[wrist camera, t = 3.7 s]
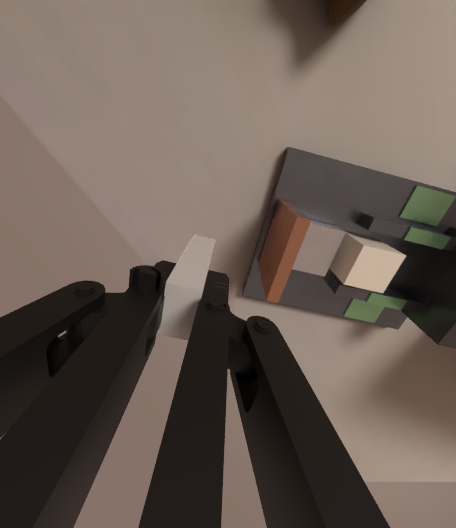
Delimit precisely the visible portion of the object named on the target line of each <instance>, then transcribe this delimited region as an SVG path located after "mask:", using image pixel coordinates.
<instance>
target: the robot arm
mask: <svg viewBox="0 0 456 528" xmlns="http://www.w3.org/2000/svg"><path fill="white" fill-rule="evenodd" d="M215 241H216V239H212V238H207V237H203V236H199V235H195V234H194V235H193V236H192V238H191V240H190V241H189V243H188V245H187V247H186V248H185V250H184V252H183V254H182V255H181V257H180V259H179V260H178V262H177V263H172V262H168V261H160V262H158V263H156V264H155V266H154V267H153V266H147V265H144V266H136V267H133V268H132V269H130V279H129V288H128V289H127V290H126V292H124V293H105V287H104V285H102V284H100V283H99V282H95V281H79V282H75V283H72V284H69V285H68V286H66V287H63V288H61V289H59V290H57V291H55V292H53V293H51V294H48V295H46V296H44V297H42V298H40V299H38V300H36V301H34V302H32V303H30V304H28V305H25V306H23V307H21V308H19V309H17V310H15V311H13V312H11V313H9V314H7V315H5V316H3V317H1V318H0V437H2V436H3V435H4V434H5V433H6V434H5V435H4V436H3V437H2V438H1V439H0V528H73V527H74V525H75V523H76V520H77V518H78V516H79V514H80V511H81V509H82V507H83V505H84V502H85V500H86V498H87V495H88V493H89V491H90V489H91V486H92V484H93V482H94V480H95V477H96V475H97V473H98V471H99V468H100V466H101V464H102V462H103V459H104V457H105V455H106V452H107V450H108V448H109V446H110V443H111V441H112V439H113V437H114V434H115V432H116V430H117V428H118V425H119V423H120V421H121V418H122V416H123V414H124V411H125V409H126V407H127V405H128V403H129V400H130V398H131V396H132V393H133V391H134V389H135V387H136V384H137V382H138V380H139V378H140V376H141V373H142V371H143V369H144V366H145V364H146V362H147V360H148V357H149V355H150V353H151V351H152V348H153V346H154V344H155V338H156V333H157V331H158V329H159V334H160V335H165V336H169V337H174V338H179V339H184V340H189V341H188V345H187V348H186V352H185V356H184V359H183V363H182V367H181V371H180V374H179V378H178V382H177V386H176V390H175V393H174V397H173V400H172V404H171V408H170V412H169V415H168V419H167V423H166V427H165V430H164V434H163V438H162V442H161V446H160V449H159V453H158V457H157V460H156V464H155V468H154V472H153V475H152V479H151V483H150V487H149V490H148V494H147V498H146V501H145V505H144V509H143V513H142V516H141V520H140V524H139V528H221V513H222V489H223V488H222V487H223V465H224V441H225V440H224V439H225V417H226V392H227V369H230V375H231V379H232V383H233V387H234V392H235V396H236V400H237V404H238V408H239V413H240V417H241V421H242V425H243V429H244V433H245V438H246V442H247V446H248V450H249V454H250V458H251V463H252V466H253V471H254V475H255V479H256V484H257V488H258V492H259V496H260V500H261V504H262V509H263V513H264V517H265V521H266V525H267V528H390V527H389V525H388V523H387V521H386V520H385V518H384V516H383V515H382V512H381V511H380V509H379V507H378V505H377V504H376V502H375V500H374V498H373V496H372V495H371V493H370V491H369V490H368V488H367V486H366V484H365V482H364V480H363V479H362V477H361V475H360V473H359V472H358V470H357V468H356V466H355V464H354V463H353V461H352V459H351V457H350V456H349V454H348V452H347V450H346V448H345V447H344V445H343V443H342V441H341V440H340V438H339V436H338V434H337V432H336V431H335V429H334V427H333V425H332V424H331V422H330V420H329V418H328V416H327V415H326V413H325V411H324V409H323V408H322V406H321V404H320V402H319V400H318V399H317V397H316V395H315V393H314V392H313V390H312V388H311V386H310V384H309V383H308V381H307V379H306V377H305V375H304V374H303V372H302V370H301V368H300V367H299V365H298V363H297V361H296V359H295V358H294V356H293V354H292V352H291V351H290V349H289V347H288V345H287V343H286V342H285V340H284V338H283V336H282V335H281V333H280V331H279V329H278V327H277V326H276V325H275V324H274V323H273V322H272V321H270V320H269V319H267V318H264V317H261V316H251V317H249V318H248V319H247V321H245V320H242V319H240V318H238V317H237V316H235V315H234V314H232V312H231V311H230V307H229V305H228V292H229V278H228V277H227V275H226V274H224V273H219V272H215V271H210V270H209V267H210V263H211V259H212V254H213V250H214V245H215ZM65 330H66V333H65V334H64V335H62V336H60V337H58V335H59V334H61V333H62V332H64V331H65Z"/></svg>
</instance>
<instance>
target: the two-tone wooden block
mask: <svg viewBox="0 0 456 528" xmlns="http://www.w3.org/2000/svg"><path fill="white" fill-rule="evenodd" d="M345 233H346V232H345V231H344V230H342V229H341V228H339V227H338V226H334V225H330V224H326V223H322V222H318V221H314V220H310V219H309V218H308V217H307V216H305V215H304V214H303V213H302V212H300V211H299V210H298V209H297V208H295V207H294V206H293V205H292V204H290V203H289V202H286V201H282V200H279V201H278V204H277V207H276V210H275V213H274V216H273V220H272V223H271V226H270V229H269V232H268V235H267V238H266V241H265V244H264V247H263V250H262V253H261V256H260V259H259V263H258V266H259V271H260V275H261V280H262V284H263V289H264V293H265V297H266V301H270V302H274V303H278V302H279V300H280V297H281V295H282V292H283V290H284V287H285V285H286V282H287V280H288V277H289V275H290V272H291V270H292V269H294V270H298V271H302V272H307V273H311V274H316V275H320V276H324V277H325V275H326V273H327V271H328V269H329V267H330V265H331V263H332V261H333V258H334V256H335V254H336V252H337V250H338V248H339V246H340V244H341V242H342V240H343V237H344V235H345Z"/></svg>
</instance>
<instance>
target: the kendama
mask: <svg viewBox="0 0 456 528" xmlns="http://www.w3.org/2000/svg"><path fill="white" fill-rule="evenodd" d="M365 1H366V0H330V12H329V23H330V24H331V25H338V24H340V23H341V22H343V21H345V20H346V19H347V18H348V17H349V16H351V15H352V14H353V13H354V12H355V11H356V10H357V9H358V8H359V7H360V6H361V5H362V4H363V3H364V2H365Z"/></svg>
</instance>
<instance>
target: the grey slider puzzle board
mask: <svg viewBox="0 0 456 528" xmlns="http://www.w3.org/2000/svg"><path fill="white" fill-rule="evenodd" d="M279 200H282V201H286V202H289V203H290V204H292V205H293V206H294V207H295V208H297V209H298V210H299V211H300V212H302V213H303V214H304V215H305V216H307V217H308V218H309V219H310V220H314V221H318V222H322V223H326V224H330V225H334V226H338V227H339V228H341V229H342V230H344V231H345V232H347V233H351V234H355V235H359V236H363V237H367V238H371V239H375V240H380V241H382V242H383V243H385V244H387V245H389V246H390V247H392V248H394V249H396V250H397V251H399V252H401V253H403V254H405V255H406V257H405V259H404V260H403V262H402V264H401V265H400V267H399V268H398V270H397V272H396V273H395V275H394V276H393V278H392V280H391V281H390V283H389V285H388V286H387V288H386V289H385V291H384V293H379V292H375V291H370V290H366V289H362V288H357V287H353V286H349V285H344V284H343V283H342V282H341V281H340V280H339V279H338V277H337V276H336V275H335V274H334V273H333V272H332V270H331V269H330V268H329V269H328V271H327V273H326V275H325V277H324V276H320V275H316V274H311V273H307V272H302V271H298V270H294V269H292V270H291V272H290V275H289V277H288V280H287V282H286V285H285V287H284V290H283V292H282V295H281V297H280V300H279V302H278V303H279V304H283V305H288V306H293V307H297V308H302V309H306V310H311V311H316V312H320V313H325V314H329V315H334V316H339V317H343V318H348V319H352V320H357V321H362V322H366V323H371V324H376V325H380V326H385V327H389V328H394V329H399V328H400V326H401V325H402V323H403V322H404V321H405V319H406V318H407V317H408V318H409V319H410V320H412V321H413V322H414V323H415V324H416V325H417V326H418V327H419V328H420V329H421V330H422V331H424V332H425V333H426V334H427V335H428V336H429V337H430V338H431V339H432V340H433V341H434V342H436V343H437V344H438V345H443V346H447V347H452V348H456V192H452V191H449V190H445V189H441V188H438V187H434V186H430V185H427V184H423V183H419V182H416V181H412V180H408V179H405V178H401V177H397V176H394V175H390V174H386V173H383V172H379V171H375V170H372V169H368V168H364V167H361V166H357V165H353V164H350V163H346V162H342V161H339V160H335V159H331V158H328V157H324V156H320V155H317V154H313V153H309V152H306V151H302V150H298V149H295V148H291V147H287V148H286V151H285V155H284V158H283V161H282V164H281V167H280V171H279V174H278V177H277V180H276V184H275V187H274V190H273V193H272V196H271V200H270V203H269V206H268V209H267V213H266V216H265V219H264V222H263V225H262V229H261V232H260V235H259V238H258V242H257V245H256V248H255V251H254V254H253V258H252V261H251V264H250V267H249V271H248V274H247V277H246V280H245V283H244V287H243V290H242V293H243V296H246V297H251V298H256V299H260V300H265V301H266V297H265V293H264V289H263V284H262V280H261V275H260V271H259V266H258V263H259V259H260V256H261V253H262V250H263V247H264V244H265V241H266V238H267V235H268V232H269V229H270V226H271V223H272V220H273V216H274V213H275V210H276V207H277V204H278V201H279ZM269 302H270V301H269Z"/></svg>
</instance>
